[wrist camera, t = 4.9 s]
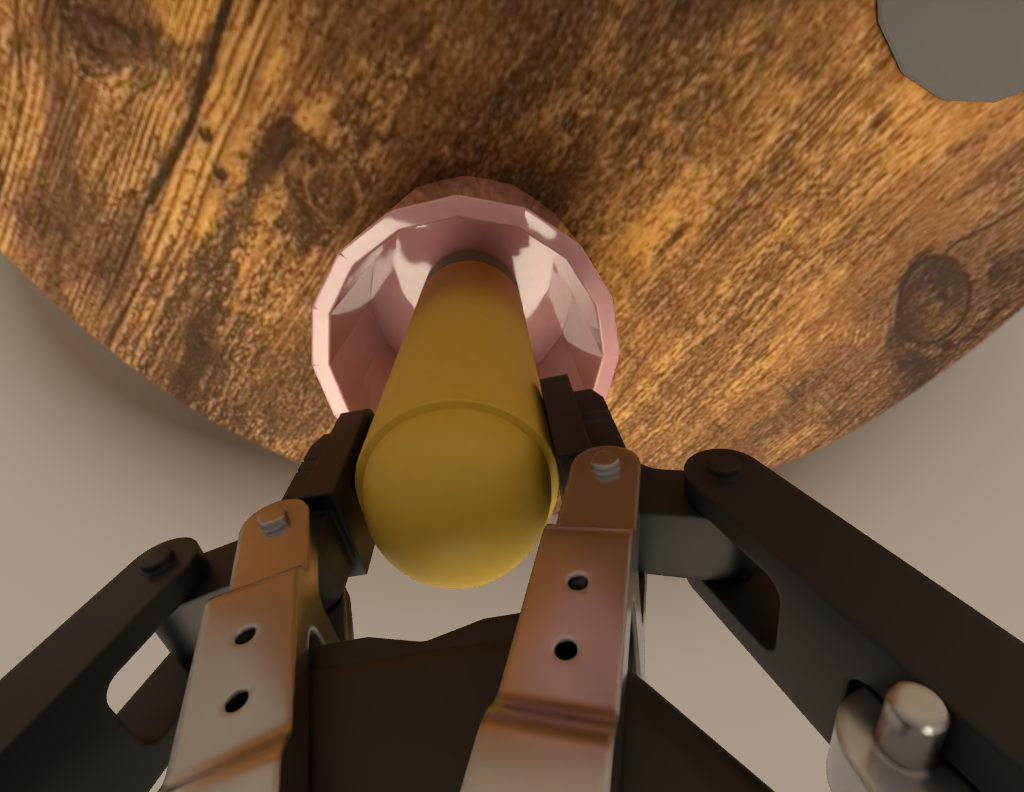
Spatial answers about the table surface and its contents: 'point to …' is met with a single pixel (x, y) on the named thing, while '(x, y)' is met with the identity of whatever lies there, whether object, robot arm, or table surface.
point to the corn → (460, 434)
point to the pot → (411, 256)
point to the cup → (958, 46)
